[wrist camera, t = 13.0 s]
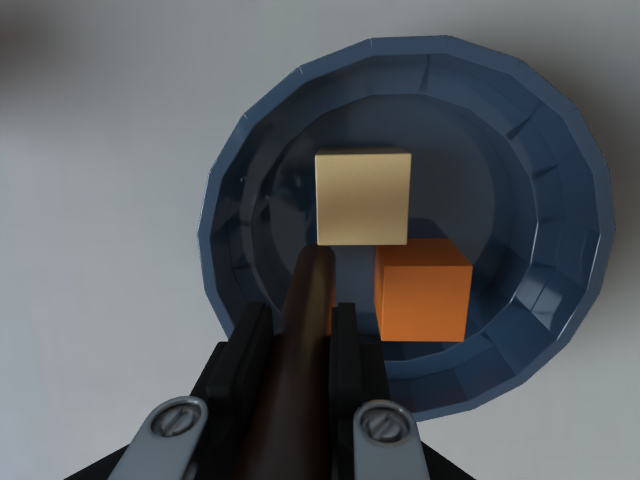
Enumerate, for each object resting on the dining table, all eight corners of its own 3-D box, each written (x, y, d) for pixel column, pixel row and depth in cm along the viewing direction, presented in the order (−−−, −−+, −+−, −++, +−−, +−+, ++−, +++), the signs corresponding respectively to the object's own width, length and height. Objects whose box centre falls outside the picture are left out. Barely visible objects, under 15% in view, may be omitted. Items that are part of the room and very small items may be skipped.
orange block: (375, 238, 20) (383, 266, 17) (448, 237, 20) (473, 265, 16) (373, 302, 22) (381, 341, 18) (442, 302, 21) (464, 342, 18)
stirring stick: (297, 242, 19) (214, 486, 6) (336, 241, 19) (330, 489, 6) (298, 278, 19) (226, 562, 7) (336, 277, 19) (331, 567, 7)
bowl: (217, 64, 18) (169, 44, 13) (570, 52, 18) (667, 26, 12) (247, 353, 24) (222, 418, 19) (516, 355, 23) (568, 425, 18)
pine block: (319, 146, 19) (314, 155, 15) (397, 145, 19) (412, 153, 15) (321, 221, 20) (317, 245, 16) (394, 220, 20) (407, 245, 16)
